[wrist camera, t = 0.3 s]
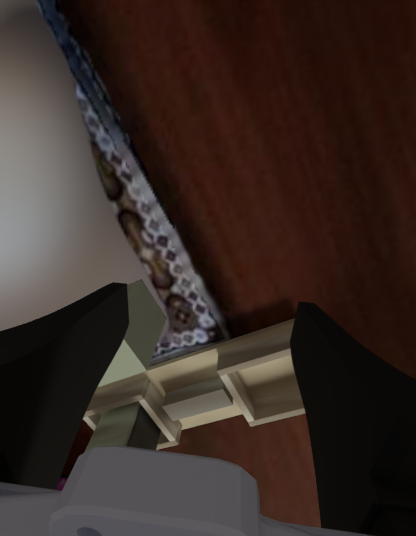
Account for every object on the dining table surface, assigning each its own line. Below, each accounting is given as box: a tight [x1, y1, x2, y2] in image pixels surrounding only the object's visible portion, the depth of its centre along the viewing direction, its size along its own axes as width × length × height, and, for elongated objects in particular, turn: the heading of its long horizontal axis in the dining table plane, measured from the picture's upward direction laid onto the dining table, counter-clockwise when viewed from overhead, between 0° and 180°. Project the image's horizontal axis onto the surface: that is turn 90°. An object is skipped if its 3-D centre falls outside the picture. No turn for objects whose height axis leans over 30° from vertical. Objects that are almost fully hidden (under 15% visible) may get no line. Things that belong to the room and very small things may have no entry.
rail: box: [83, 318, 305, 453], centre depth 25 cm, size 8×22×6 cm, turn 117°
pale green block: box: [98, 279, 166, 387], centre depth 22 cm, size 4×4×6 cm
